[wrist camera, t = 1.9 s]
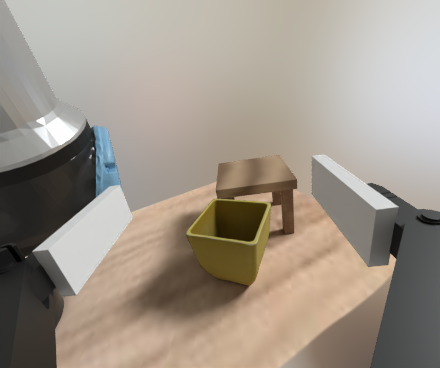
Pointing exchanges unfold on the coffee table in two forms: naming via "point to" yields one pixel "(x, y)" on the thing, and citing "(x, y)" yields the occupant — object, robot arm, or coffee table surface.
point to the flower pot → (231, 238)
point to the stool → (259, 183)
